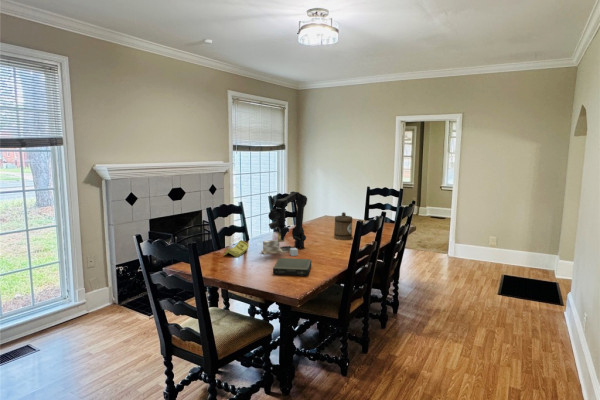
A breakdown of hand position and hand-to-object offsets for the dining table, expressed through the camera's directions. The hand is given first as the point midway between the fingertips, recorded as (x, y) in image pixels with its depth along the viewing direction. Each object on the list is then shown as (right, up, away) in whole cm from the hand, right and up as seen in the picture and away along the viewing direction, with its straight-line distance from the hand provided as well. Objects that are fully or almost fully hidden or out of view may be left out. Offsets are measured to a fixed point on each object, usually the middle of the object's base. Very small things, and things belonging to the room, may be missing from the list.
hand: (281, 239), depth 262 cm
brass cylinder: (0, -1, 0) cm, 1 cm away
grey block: (+9, -11, -1) cm, 14 cm away
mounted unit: (-2, -10, +8) cm, 12 cm away
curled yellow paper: (-31, -10, +2) cm, 33 cm away
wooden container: (+50, -5, +53) cm, 72 cm away
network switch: (+9, -16, -35) cm, 39 cm away
